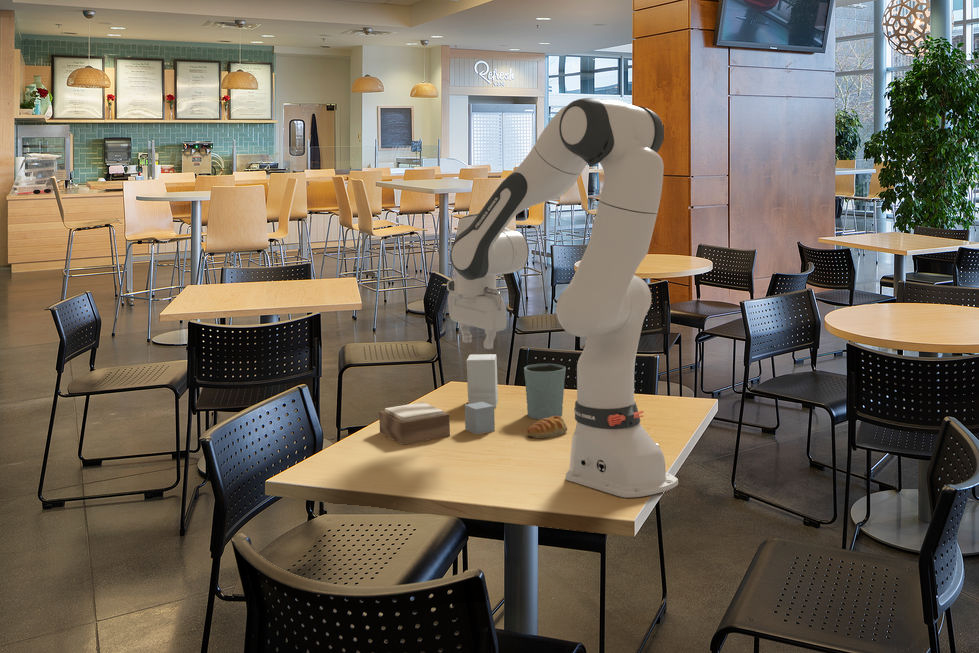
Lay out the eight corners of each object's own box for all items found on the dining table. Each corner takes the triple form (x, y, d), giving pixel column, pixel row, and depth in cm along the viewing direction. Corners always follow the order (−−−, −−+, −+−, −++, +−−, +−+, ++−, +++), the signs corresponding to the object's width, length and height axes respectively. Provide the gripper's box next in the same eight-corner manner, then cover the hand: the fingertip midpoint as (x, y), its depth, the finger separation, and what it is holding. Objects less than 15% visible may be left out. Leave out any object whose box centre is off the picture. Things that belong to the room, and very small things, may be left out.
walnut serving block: (449, 435, 204) (449, 411, 203) (402, 444, 198) (401, 419, 197) (425, 424, 214) (424, 400, 213) (379, 432, 208) (378, 408, 207)
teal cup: (521, 419, 216) (521, 371, 214) (527, 409, 226) (527, 362, 224) (563, 420, 214) (563, 372, 212) (567, 410, 224) (567, 363, 222)
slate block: (494, 430, 207) (494, 405, 206) (476, 434, 205) (475, 409, 204) (483, 426, 211) (482, 401, 210) (465, 429, 209) (464, 404, 208)
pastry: (540, 442, 198) (539, 425, 198) (519, 436, 203) (519, 420, 203) (569, 433, 204) (569, 417, 204) (549, 428, 209) (549, 412, 209)
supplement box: (498, 400, 235) (497, 353, 233) (496, 408, 227) (495, 359, 225) (470, 400, 235) (469, 353, 233) (467, 407, 228) (466, 359, 226)
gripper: (513, 289, 195) (513, 350, 198) (466, 280, 212) (467, 337, 215) (488, 291, 192) (489, 354, 194) (443, 282, 209) (444, 340, 212)
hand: (477, 345), depth 205 cm, fingers open, 8 cm apart
